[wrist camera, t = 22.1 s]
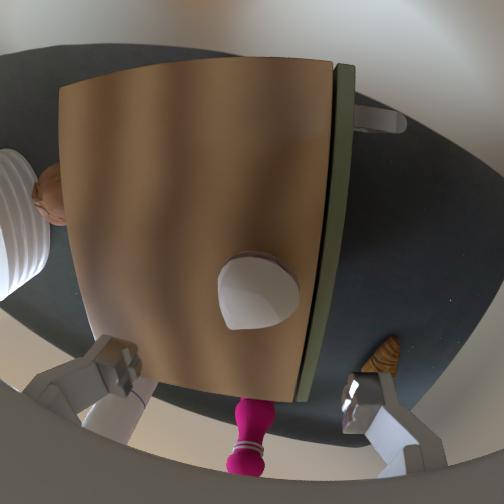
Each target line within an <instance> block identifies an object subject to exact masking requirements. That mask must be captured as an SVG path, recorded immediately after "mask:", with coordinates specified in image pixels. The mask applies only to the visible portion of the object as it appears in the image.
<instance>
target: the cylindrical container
mask: <svg viewBox="0 0 504 504" xmlns="http://www.w3.org/2000/svg"><path fill="white" fill-rule="evenodd" d="M158 382H159V381H155V380H151V379H147V378H144V377H140V376H139V378H138V380H136V381H134V382H132V385H133V388H132V390H131V392H130V393H129V395H128V397H127V398H122V397H119V396H116V395H113V394H110V393H109V394H108V395H107V396H105V397H104V398H102V399H101V400H99V401H97V402H96V403H94V405H93V407H92V408H91V410H90V411H89V413H88V414H87V416H86V418H85V419H84V421H83V422H82V427H84V428H86V429H88V430H90V431H93V432H95V433H97V434H99V435H102V436H104V437H107V438H109V439H111V440H114V441H116V442H119V443H122V444H124V445H127V443H128V441H129V439H130V437H131V435H132V433H133V431H134V429H135V427H136V425H137V423H138V421H139V419H140V417H141V415H142V413H143V411H144V409H145V407H146V405H147V403H148V401H149V399H150V397H151V395H152V393H153V392H154V390H155V388H156V386H157V384H158Z"/></svg>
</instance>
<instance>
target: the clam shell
mask: <svg viewBox="0 0 504 504" xmlns="http://www.w3.org/2000/svg"><path fill="white" fill-rule="evenodd" d="M218 298H219V306H220V309H221V312H222V315H223V317H224V320H225V323H226V325H227V327H228V328H229V329H231V330H238V329H258V328H265V327H271V326H273V325H276V324H278V323H280V322H282V321H284V320H285V319H287V318H289V317H290V316H291V314H292V313H294V312H295V310H296V309H297V307H298V306H299V304H300V286H299V282H298V278H297V276H296V275H295V273H294V272H293V270H292V268H291V267H289V266H288V265H287V264H286V263H285V262H284V261H282V260H281V259H280V258H278V257H276V256H273V255H271V254H269V253H266V252H260V251H243V252H241V253H238V254H236V255H234V256H232V257H231V258H230V259H229V260H228V261H227V262H226V263H225V265H224V266H223V268H222V270H221V272H220V274H219V277H218Z"/></svg>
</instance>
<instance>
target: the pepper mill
mask: <svg viewBox="0 0 504 504" xmlns="http://www.w3.org/2000/svg"><path fill="white" fill-rule="evenodd" d="M273 405H274V401H269V400H260V399H252V398H244V397H241V402H239V403H238V405H237V406H236V411H235V417H236V422H237V426H238V430H239V439H238V442H237V443H235V444H234V448H233V454H232V455H230V456H229V457H228V459H227V464H226V466H227V470H228V472H229V473H234V474H240V475H247V476H254V477H259V476H260V475H261V474H262V473H263V471H264V468H265V464H264V461H263V459H262V458H261V457H262V456H263V452H264V448H263V447H262V441H263V437H264V435H265V433H266V431H267V430H268V429H269V427H270V426H271V425H272V423H273V421H274V418H275V409H274V407H273Z"/></svg>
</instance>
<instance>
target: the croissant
mask: <svg viewBox="0 0 504 504" xmlns="http://www.w3.org/2000/svg"><path fill="white" fill-rule="evenodd" d="M399 357H400V349H399V338H398V337H396V336H394V335H392V336H389V337H388V338H387V339H386V340H384V341H383V342H382V343H381V344H380V345H379V347H378V348H377V349H376V351H375V353H374V354H372V355H371V356H370V358H369V359H368V360H367V361H366V362H365V364H364V366H363V367H362V369H361V372H390V373H391V376H392V380H394V378H395V375H396V373H397V368H398V360H399Z"/></svg>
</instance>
